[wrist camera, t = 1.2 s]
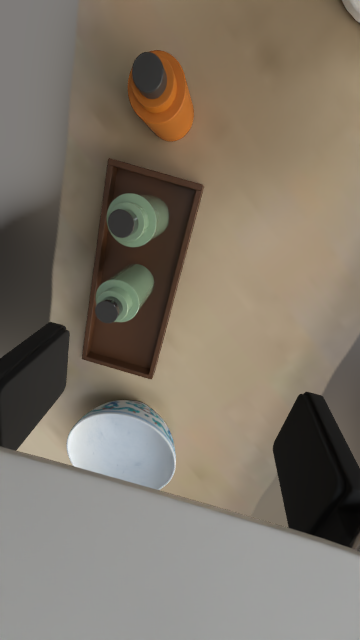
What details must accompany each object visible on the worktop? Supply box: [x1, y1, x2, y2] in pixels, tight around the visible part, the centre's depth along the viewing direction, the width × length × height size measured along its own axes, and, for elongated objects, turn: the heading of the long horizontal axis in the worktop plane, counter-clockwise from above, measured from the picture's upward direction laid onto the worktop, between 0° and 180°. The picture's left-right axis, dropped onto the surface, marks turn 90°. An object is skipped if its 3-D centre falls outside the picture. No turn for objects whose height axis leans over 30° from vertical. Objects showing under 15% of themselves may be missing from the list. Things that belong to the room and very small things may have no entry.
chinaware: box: [67, 400, 176, 490], centre depth 41 cm, size 15×15×8 cm
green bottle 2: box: [95, 264, 154, 323], centre depth 31 cm, size 5×5×10 cm
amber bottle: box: [128, 50, 194, 141], centre depth 24 cm, size 5×5×10 cm
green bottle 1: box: [107, 193, 170, 247], centre depth 27 cm, size 5×5×10 cm
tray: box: [82, 158, 204, 379], centre depth 35 cm, size 25×10×2 cm, turn 165°
